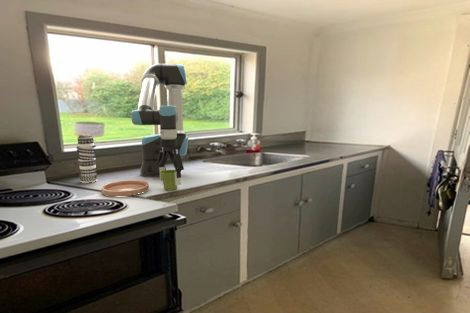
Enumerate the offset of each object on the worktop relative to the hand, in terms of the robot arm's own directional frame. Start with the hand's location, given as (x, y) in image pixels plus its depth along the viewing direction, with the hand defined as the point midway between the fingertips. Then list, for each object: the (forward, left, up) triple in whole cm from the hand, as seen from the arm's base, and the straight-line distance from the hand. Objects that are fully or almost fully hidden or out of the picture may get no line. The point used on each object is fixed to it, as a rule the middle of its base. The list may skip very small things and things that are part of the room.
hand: (170, 182), depth 146 cm
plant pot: (0, 0, -4) cm, 4 cm away
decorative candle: (-44, -23, -4) cm, 50 cm away
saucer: (-12, -17, -3) cm, 21 cm away
